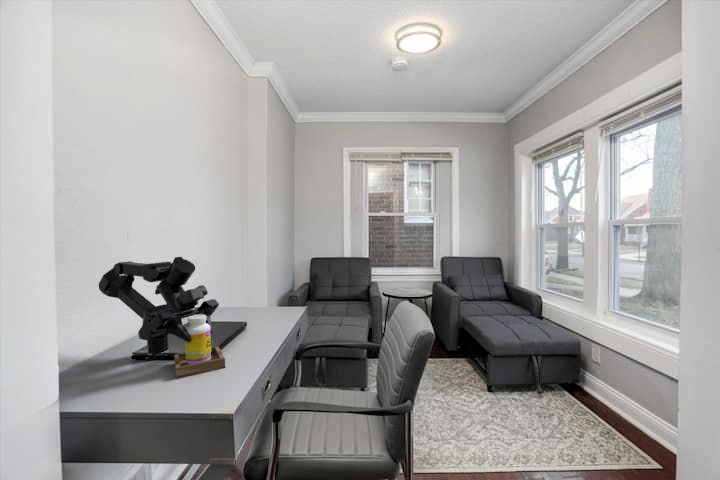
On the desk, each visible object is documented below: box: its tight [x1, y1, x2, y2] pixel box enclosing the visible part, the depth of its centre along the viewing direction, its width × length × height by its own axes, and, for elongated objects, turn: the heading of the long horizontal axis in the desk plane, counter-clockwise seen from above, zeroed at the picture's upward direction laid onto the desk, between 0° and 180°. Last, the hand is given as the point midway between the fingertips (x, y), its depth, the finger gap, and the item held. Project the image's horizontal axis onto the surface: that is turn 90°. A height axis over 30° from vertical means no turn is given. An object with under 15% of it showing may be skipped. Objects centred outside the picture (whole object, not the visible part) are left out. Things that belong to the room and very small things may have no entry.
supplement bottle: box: [184, 314, 212, 365], centre depth 94 cm, size 7×7×13 cm
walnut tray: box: [173, 345, 226, 379], centre depth 94 cm, size 12×12×3 cm
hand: (201, 337), depth 94 cm, fingers open, 7 cm apart
